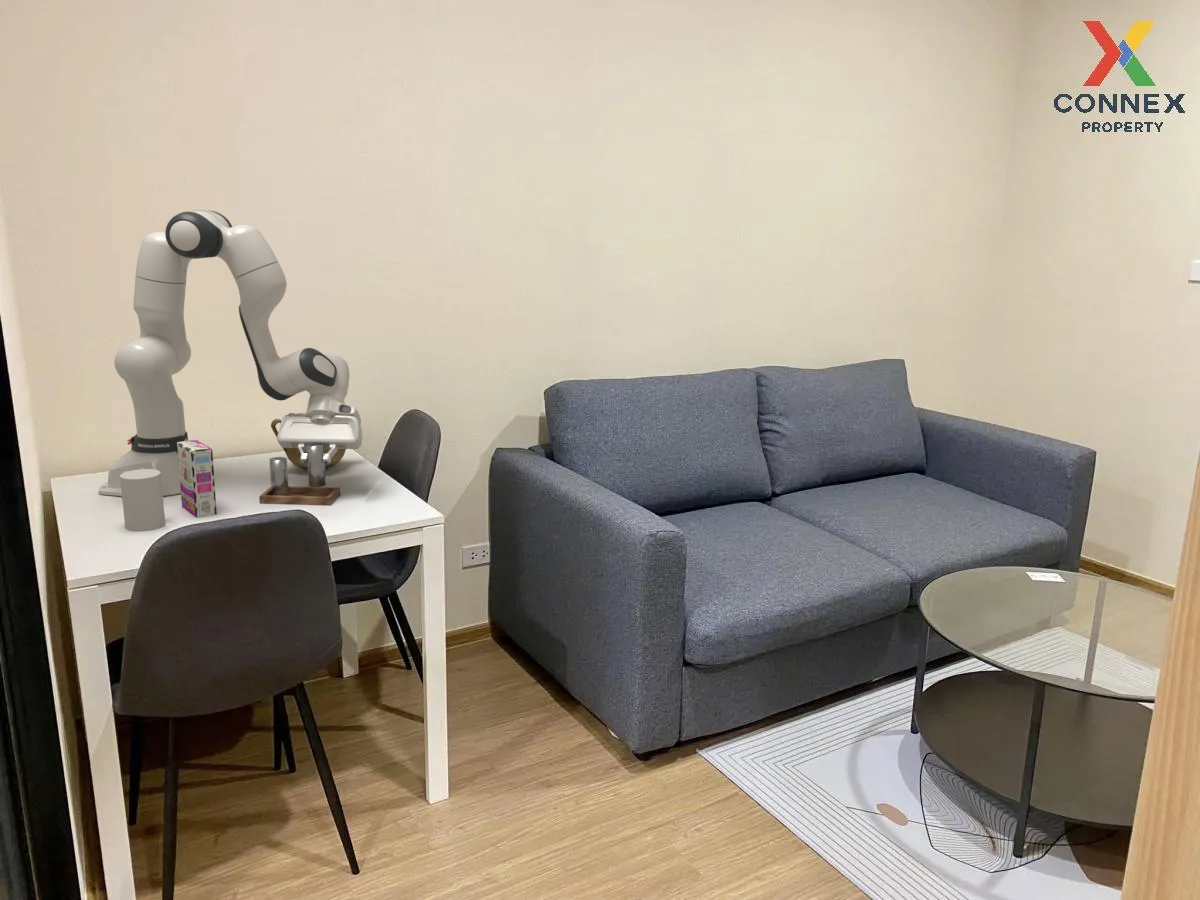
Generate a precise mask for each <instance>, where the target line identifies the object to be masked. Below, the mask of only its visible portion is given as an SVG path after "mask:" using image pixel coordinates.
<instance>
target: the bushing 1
mask: <svg viewBox="0 0 1200 900" xmlns="http://www.w3.org/2000/svg"><path fill="white" fill-rule="evenodd" d="M269 472H270V487H271V492H272V495H275V496H289V488H288V486H289V474H288V473H289V472H288V457H285V456H276V457H275V456H274V457H270V458H269Z"/></svg>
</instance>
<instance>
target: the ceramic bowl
mask: <svg viewBox="0 0 1200 900" xmlns="http://www.w3.org/2000/svg"><path fill="white" fill-rule="evenodd" d="M281 421H282V419H280V418H275V419H273V420H272V421H271V424H270V427H271V430H272V431H273V434H274V435H275V438H277V435H278V432H279V430H277V425H278V424H279V423H280V424H281ZM281 448H282V450H283V451H284V453H285V455H286V458H287V460H289V461H290V463H292V464H293V465H294V466H296V468H299V469H301V470H304V471H307V472H308V464H307V463H302V462H301V460H300V458H301V452H300V450H299V448H283V447H281ZM346 450H347V449H337V453H336V454H335V455H334V456H333V457H332V458H331V462H330V463H325V471H326V470H328V469H331V468H332V467H334V466H335V465H337V464H339V462H340V461H341V460H342V459H343V457H344V456H345V453H346ZM329 451H330V449H324V454H327V453H328V452H329ZM304 454H307V449H306V451H304Z"/></svg>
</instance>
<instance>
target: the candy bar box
mask: <svg viewBox="0 0 1200 900" xmlns="http://www.w3.org/2000/svg"><path fill="white" fill-rule="evenodd" d="M177 450H178V463H179V475H180V488H181V493H180V497H181V508H182V509H184V510H186V511H187V512H188V513H189V514H191V515H192V516H193V517H195V519H199V518H204V517H210V516H216V515H217V514H218V512H217V500H216V487H215V470H214V469H215V468H214V455H213V454H214V453H213V448H211V447H210V446H208V445H206V444H205V443H203V442H202V441H200V440H198V439H193V440H188V441H183V442H177Z"/></svg>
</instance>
